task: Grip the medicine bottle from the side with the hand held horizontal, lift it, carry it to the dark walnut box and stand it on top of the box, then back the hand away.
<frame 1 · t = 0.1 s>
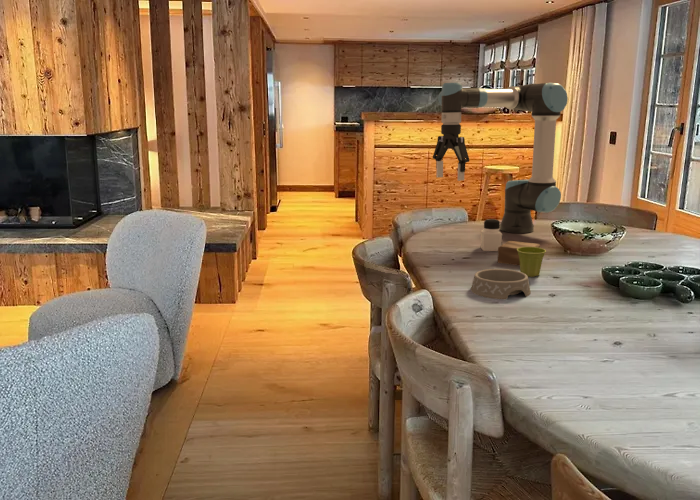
hand: (450, 178, 245), 28 cm above the table, tool pointing down, fingers open, 13 cm apart
walnut box: (518, 261, 229), on the table
medicine bottle: (490, 249, 248), on the table
dog bowl: (500, 292, 193), on the table
plant pot: (529, 275, 211), on the table
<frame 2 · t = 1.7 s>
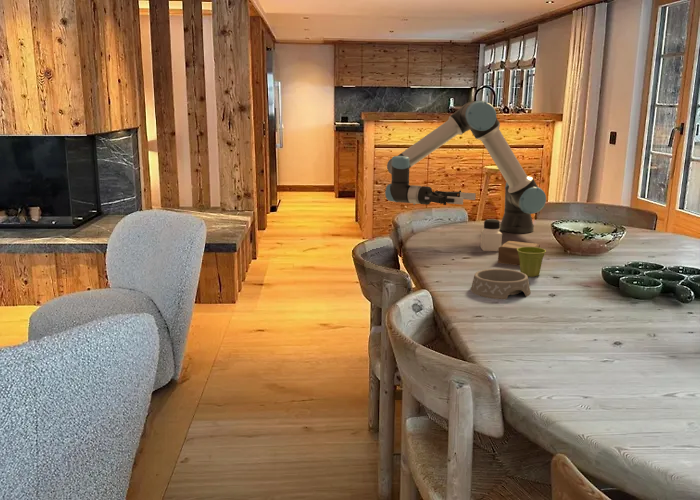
hand: (469, 198, 248), 20 cm above the table, tool horizontal, fingers open, 13 cm apart
nothing on the table moved.
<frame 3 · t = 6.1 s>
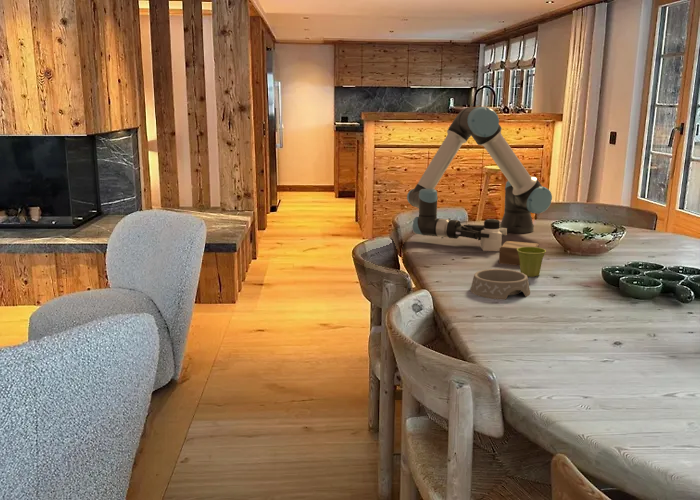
hand: (502, 234, 244), 7 cm above the table, tool horizontal, fingers closed on medicine bottle, 9 cm apart
medicine bottle: (490, 249, 248), on the table, touching gripper
everything else where it was.
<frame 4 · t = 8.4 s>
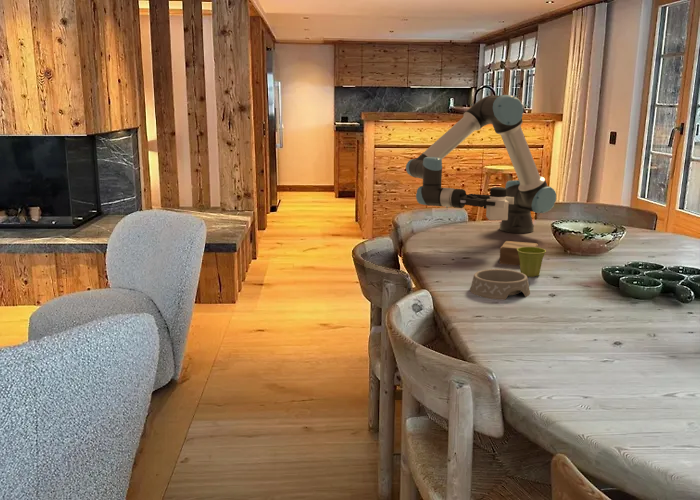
hand: (509, 202, 234), 20 cm above the table, tool horizontal, fingers closed on medicine bottle, 9 cm apart
medicine bottle: (496, 219, 238), point 13 cm above the table, touching gripper
everything else where it was.
when the fingers open (14 cm above the table, at t = 11.1 s): medicine bottle drops 1 cm, point 6 cm above the table.
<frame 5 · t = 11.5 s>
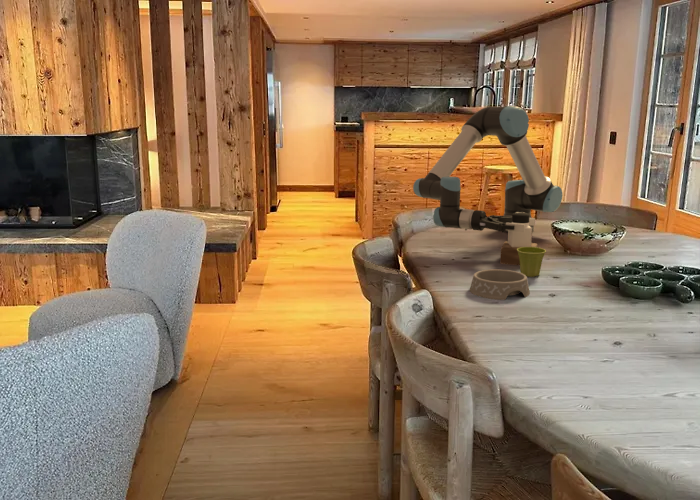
hand: (529, 225, 224), 14 cm above the table, tool horizontal, fingers open, 13 cm apart
medicine bottle: (519, 245, 228), point 6 cm above the table
everything else where it was.
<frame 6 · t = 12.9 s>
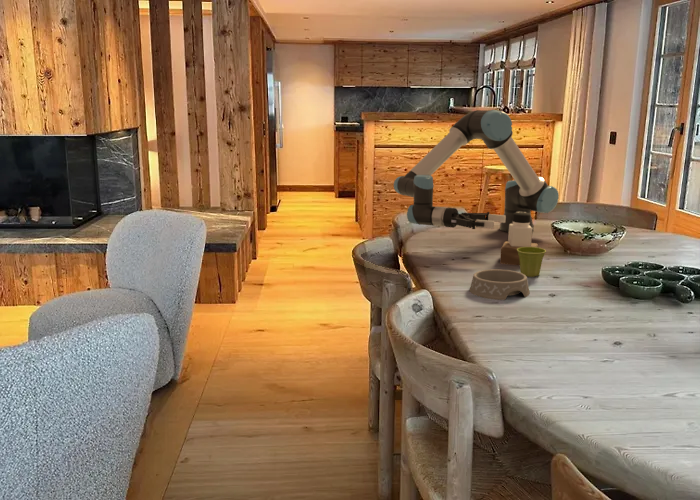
hand: (499, 222, 230), 14 cm above the table, tool horizontal, fingers open, 13 cm apart
walnut box: (518, 262, 229), on the table, touching medicine bottle
medicine bottle: (519, 245, 228), point 6 cm above the table, touching walnut box
everything else where it was.
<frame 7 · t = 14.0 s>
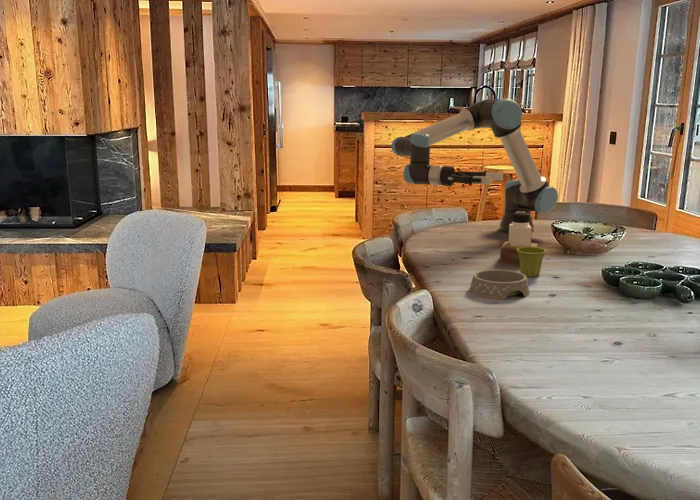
hand: (496, 178, 227), 30 cm above the table, tool horizontal, fingers open, 13 cm apart
nothing on the table moved.
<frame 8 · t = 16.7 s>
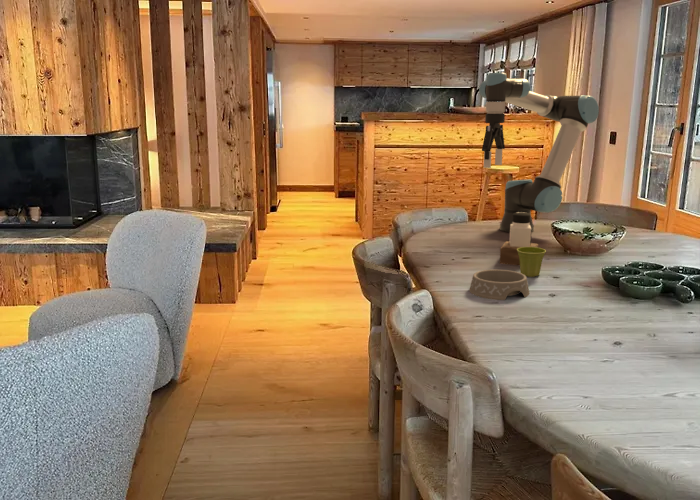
hand: (492, 166, 253), 32 cm above the table, tool pointing down, fingers open, 13 cm apart
nothing on the table moved.
at the end: medicine bottle inside the target area on the walnut box (0.0 cm from its centre), point 6.2 cm above the walnut box's base; medicine bottle tilted 1°; the gripper is holding nothing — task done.
